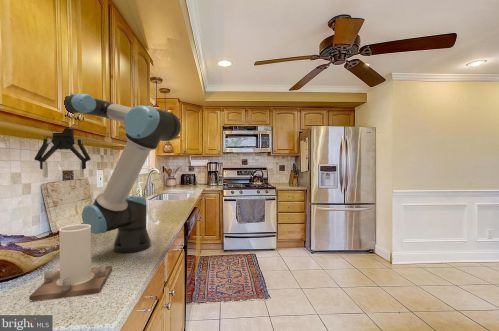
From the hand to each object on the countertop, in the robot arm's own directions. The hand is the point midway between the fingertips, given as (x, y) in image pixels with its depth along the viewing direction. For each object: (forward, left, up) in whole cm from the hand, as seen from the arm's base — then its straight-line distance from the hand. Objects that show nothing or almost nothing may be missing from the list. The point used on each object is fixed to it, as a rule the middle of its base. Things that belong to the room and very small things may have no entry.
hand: (63, 177), depth 113 cm
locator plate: (-16, +38, -32) cm, 52 cm away
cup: (-16, +38, -30) cm, 51 cm away
